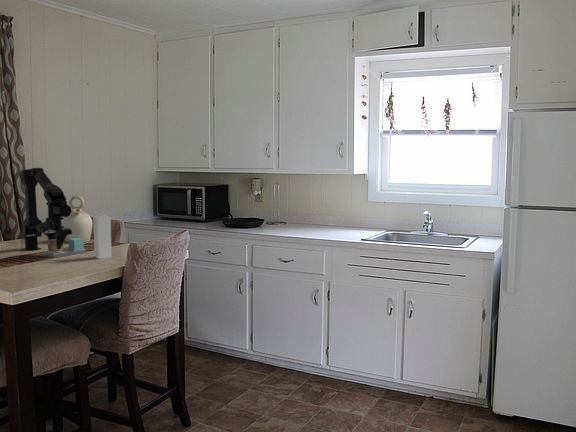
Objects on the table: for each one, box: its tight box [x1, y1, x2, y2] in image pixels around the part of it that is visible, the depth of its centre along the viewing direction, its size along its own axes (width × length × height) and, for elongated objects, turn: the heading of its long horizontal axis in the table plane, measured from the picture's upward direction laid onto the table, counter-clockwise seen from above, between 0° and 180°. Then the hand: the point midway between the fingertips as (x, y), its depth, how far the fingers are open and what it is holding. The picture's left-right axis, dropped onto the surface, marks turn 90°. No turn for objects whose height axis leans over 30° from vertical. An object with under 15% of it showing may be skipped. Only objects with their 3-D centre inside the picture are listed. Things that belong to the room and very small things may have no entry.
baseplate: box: [45, 248, 88, 259], centre depth 272 cm, size 7×17×2 cm, turn 143°
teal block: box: [67, 238, 85, 251], centre depth 276 cm, size 5×5×5 cm
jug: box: [62, 195, 93, 243], centre depth 309 cm, size 15×16×25 cm
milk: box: [92, 209, 112, 260], centre depth 264 cm, size 6×6×22 cm
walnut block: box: [47, 239, 65, 252], centre depth 268 cm, size 5×5×5 cm
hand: (56, 248), depth 268 cm, fingers closed on walnut block, 5 cm apart
